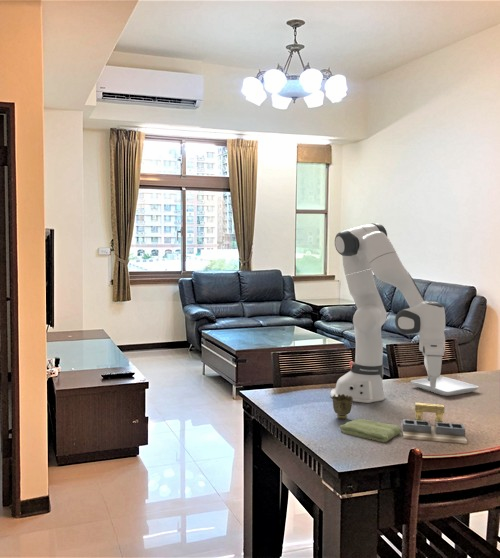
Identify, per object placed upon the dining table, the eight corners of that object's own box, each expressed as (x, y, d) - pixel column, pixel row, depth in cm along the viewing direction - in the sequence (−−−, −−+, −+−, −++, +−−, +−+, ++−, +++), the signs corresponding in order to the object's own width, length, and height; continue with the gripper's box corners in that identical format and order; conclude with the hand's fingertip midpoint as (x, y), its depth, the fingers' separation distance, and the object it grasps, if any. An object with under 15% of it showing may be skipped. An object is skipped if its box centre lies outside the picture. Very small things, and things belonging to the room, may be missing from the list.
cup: (339, 422, 203) (340, 400, 202) (327, 416, 209) (328, 395, 209) (356, 419, 206) (357, 398, 206) (344, 414, 213) (344, 393, 212)
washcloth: (355, 423, 204) (355, 414, 203) (402, 434, 193) (402, 425, 193) (337, 433, 193) (337, 423, 193) (385, 445, 182) (386, 435, 182)
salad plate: (441, 382, 264) (441, 375, 264) (480, 393, 246) (480, 385, 246) (408, 387, 253) (409, 380, 253) (447, 399, 235) (447, 391, 235)
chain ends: (402, 431, 192) (403, 424, 192) (401, 426, 197) (402, 419, 197) (465, 436, 188) (465, 429, 188) (462, 431, 193) (462, 424, 193)
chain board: (403, 438, 188) (403, 435, 188) (401, 425, 201) (401, 422, 201) (466, 443, 184) (466, 440, 184) (460, 430, 197) (460, 427, 197)
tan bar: (414, 422, 205) (415, 404, 204) (414, 419, 208) (414, 402, 207) (443, 424, 203) (444, 407, 202) (442, 422, 206) (443, 404, 205)
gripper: (420, 340, 214) (420, 377, 215) (425, 351, 194) (424, 390, 195) (438, 341, 212) (437, 377, 213) (444, 351, 192) (444, 391, 193)
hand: (431, 384), depth 204 cm, fingers open, 8 cm apart
